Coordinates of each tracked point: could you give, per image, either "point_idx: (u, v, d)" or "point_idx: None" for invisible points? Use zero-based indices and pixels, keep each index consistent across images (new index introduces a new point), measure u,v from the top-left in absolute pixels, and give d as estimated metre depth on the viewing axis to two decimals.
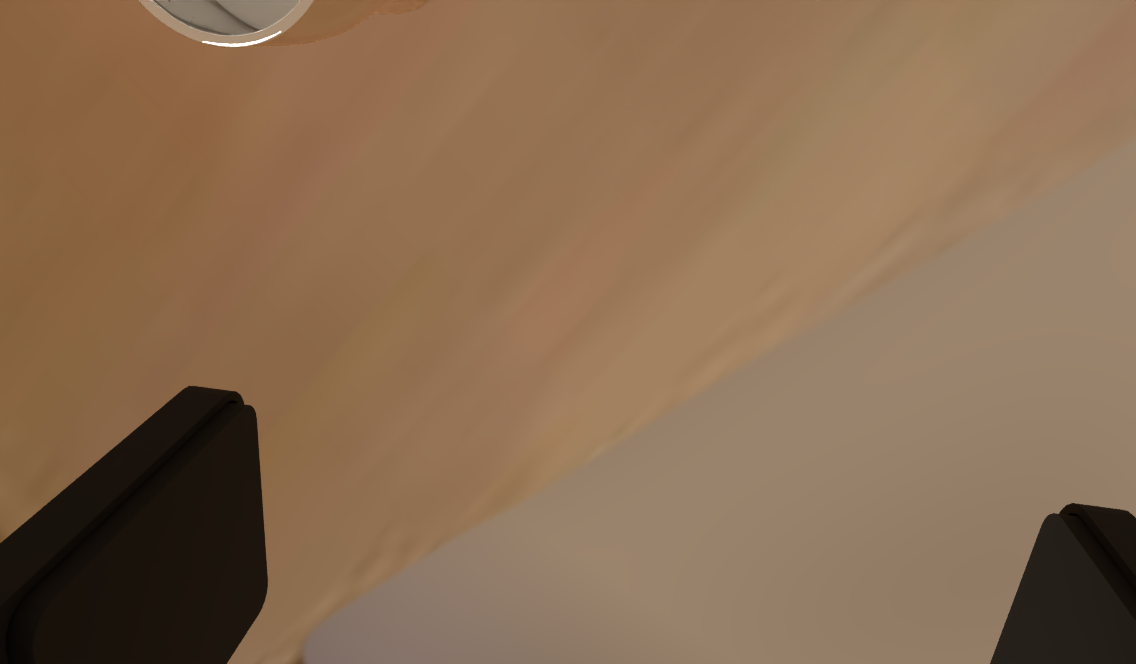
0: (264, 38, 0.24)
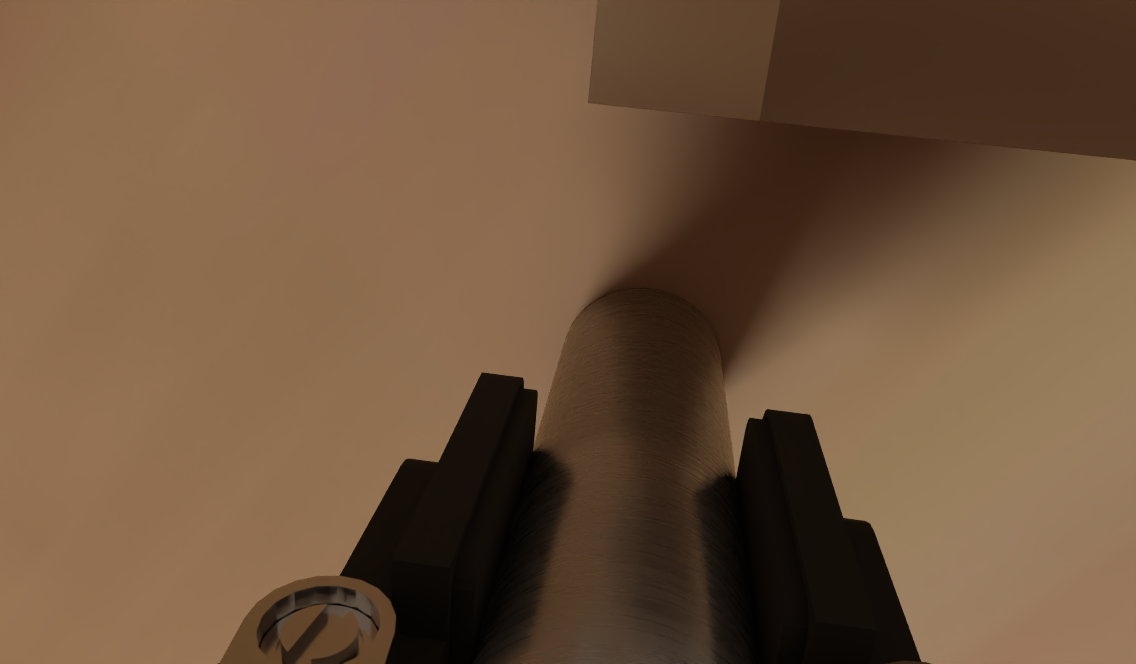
0: None
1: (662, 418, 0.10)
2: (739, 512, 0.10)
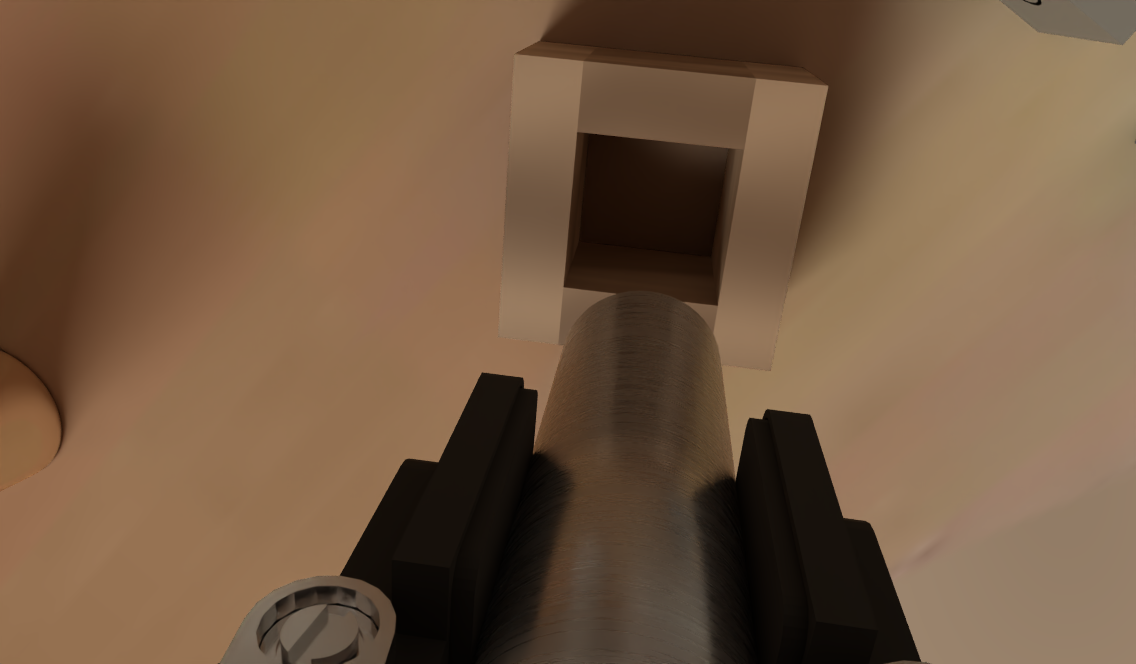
0: None
1: (662, 420, 0.10)
2: (739, 515, 0.10)
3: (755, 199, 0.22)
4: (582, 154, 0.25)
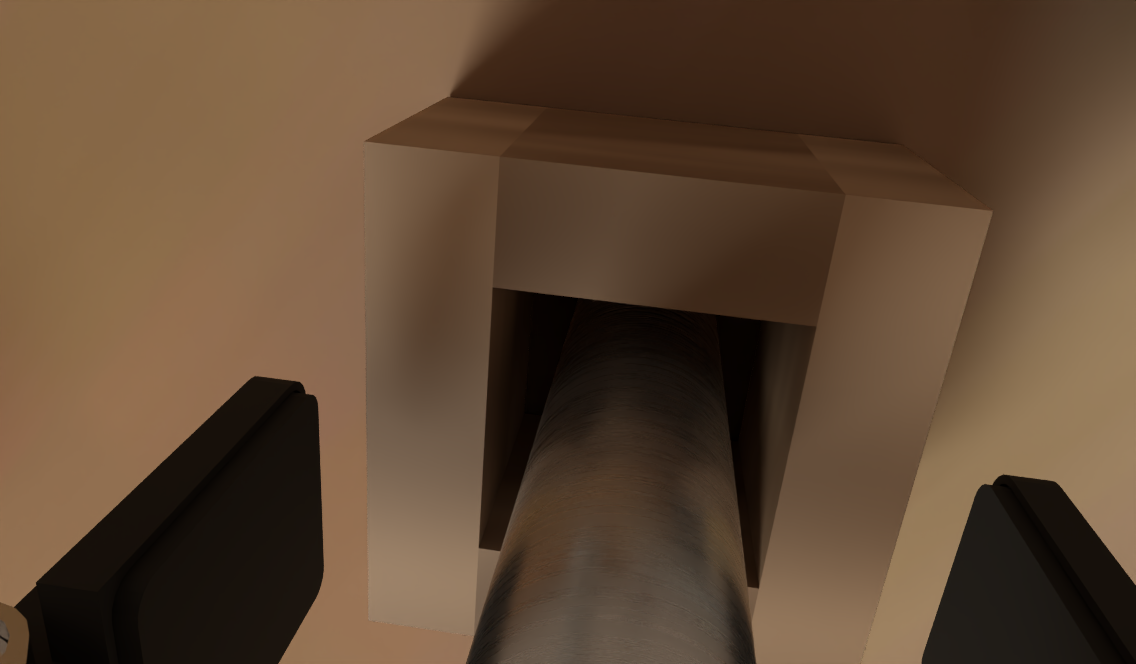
0: None
1: (662, 362, 0.12)
2: (729, 445, 0.12)
3: (834, 414, 0.12)
4: (518, 297, 0.14)
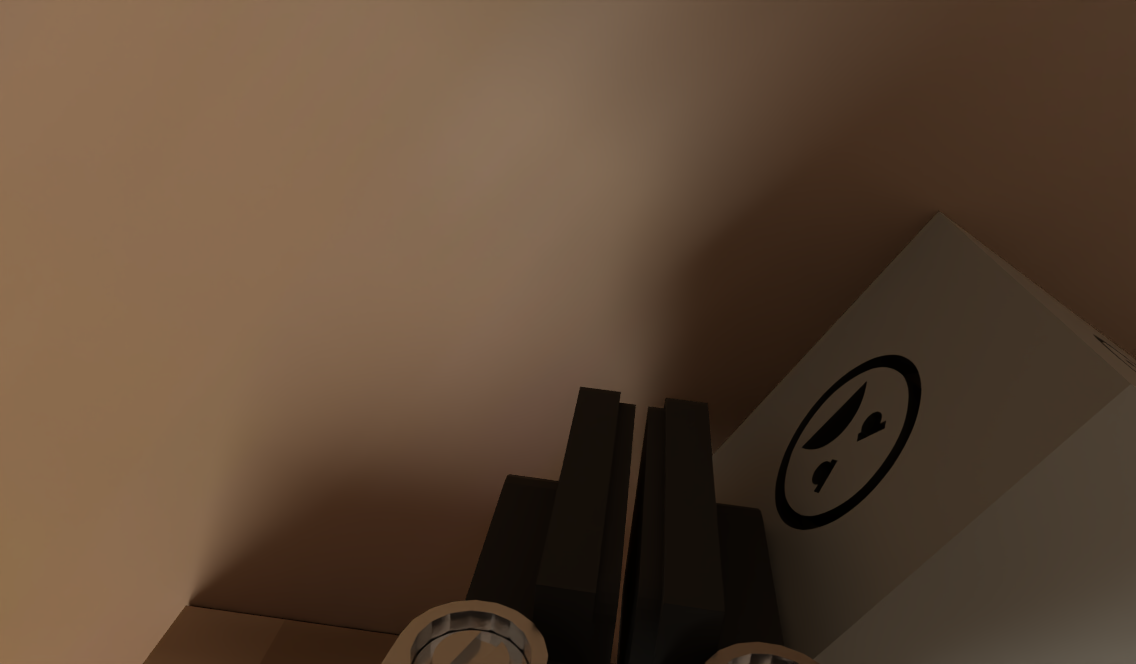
0: None
1: None
2: None
3: None
4: None
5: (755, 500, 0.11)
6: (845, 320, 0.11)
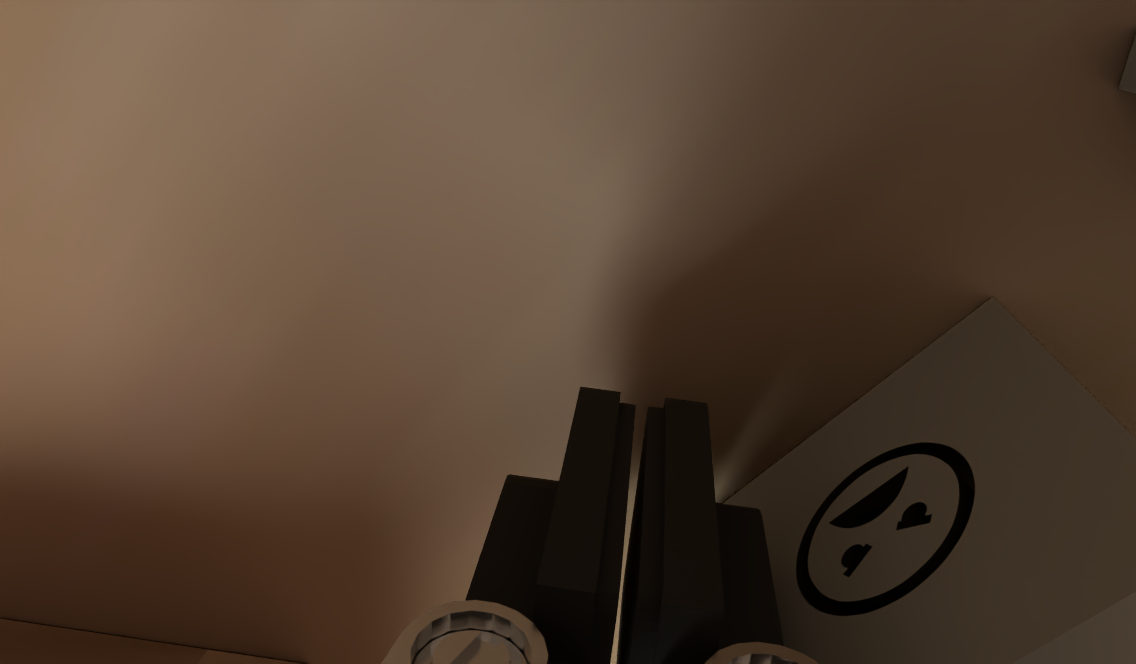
0: None
1: None
2: None
3: None
4: None
5: (771, 569, 0.10)
6: (883, 396, 0.11)
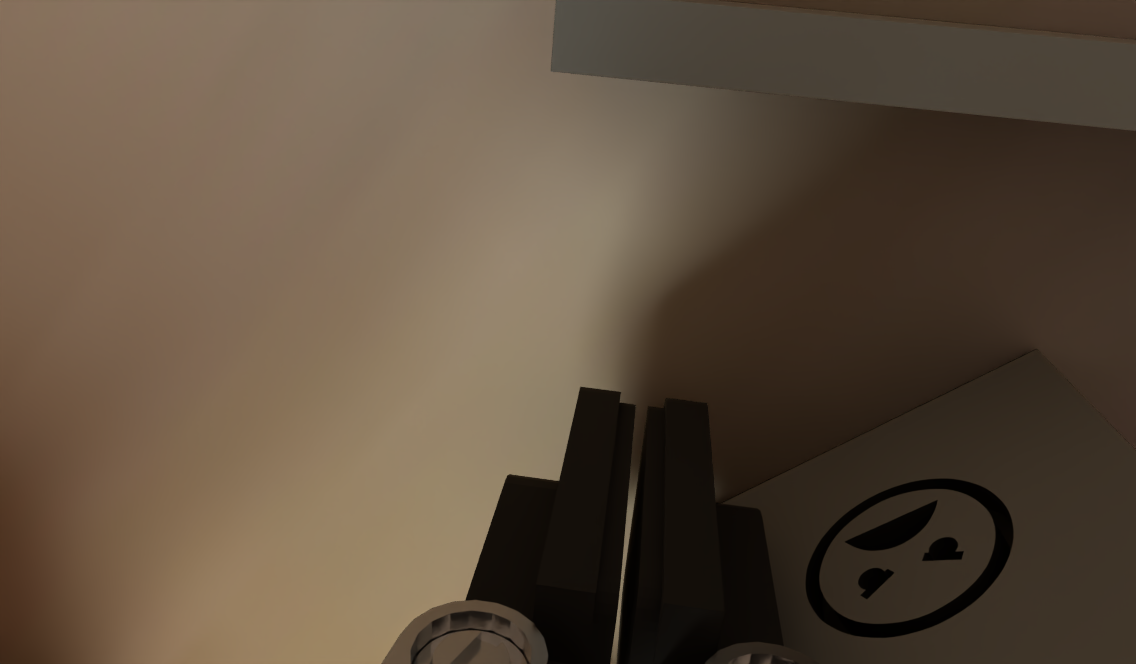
0: None
1: None
2: None
3: None
4: None
5: (777, 576, 0.10)
6: (910, 425, 0.11)
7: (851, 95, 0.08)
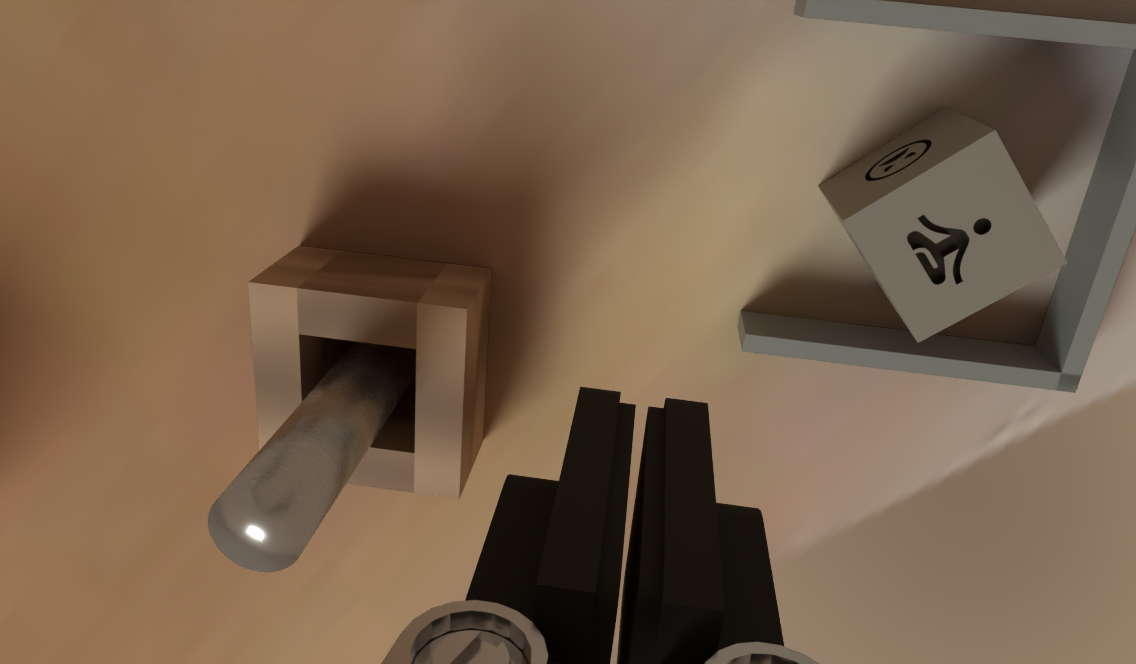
0: None
1: (364, 362, 0.31)
2: (388, 393, 0.31)
3: (429, 382, 0.31)
4: None
5: (854, 181, 0.29)
6: (900, 137, 0.30)
7: (891, 23, 0.27)
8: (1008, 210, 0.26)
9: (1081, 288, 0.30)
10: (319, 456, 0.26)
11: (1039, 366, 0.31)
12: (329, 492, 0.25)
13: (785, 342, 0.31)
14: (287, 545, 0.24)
